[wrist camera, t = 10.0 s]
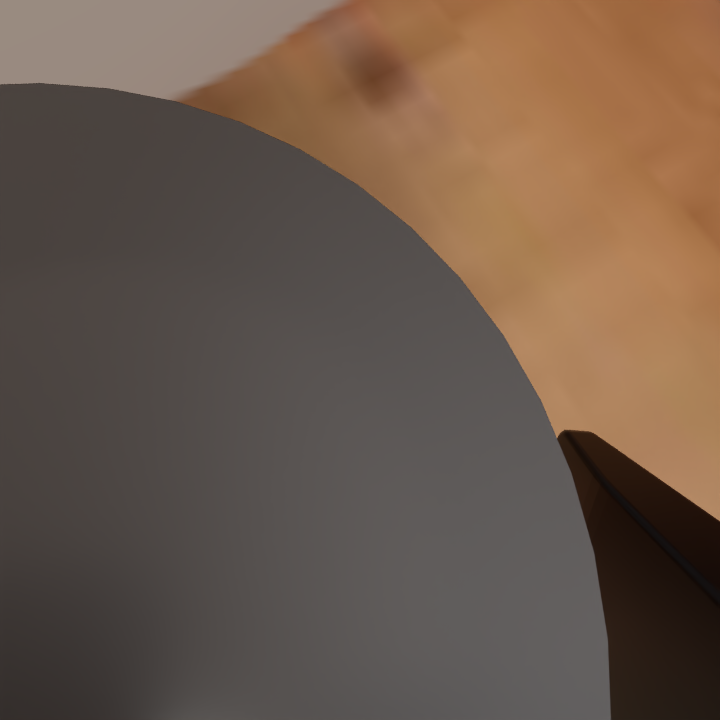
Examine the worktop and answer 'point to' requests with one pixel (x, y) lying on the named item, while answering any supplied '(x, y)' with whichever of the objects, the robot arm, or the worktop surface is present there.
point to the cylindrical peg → (262, 444)
